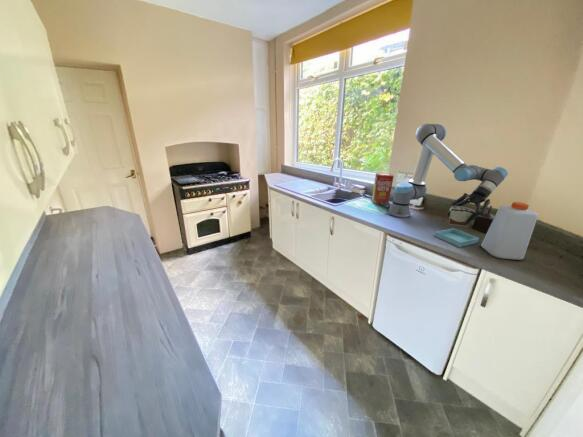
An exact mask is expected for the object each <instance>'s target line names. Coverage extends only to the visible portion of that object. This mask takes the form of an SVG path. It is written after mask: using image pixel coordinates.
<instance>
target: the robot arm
mask: <svg viewBox="0 0 583 437" xmlns="http://www.w3.org/2000/svg"><path fill="white" fill-rule="evenodd" d="M446 136H447V129H446V127H445V126H443V125H442V124H438V123H424V124H421V125H420V126H419V127H417V129H416V132H415V139H416V141H417V142H418V143H419V144H420V145H421V148H420V151H419V155H418V158H417V162H416V165H415V168H414V171H413V174H412V178H410V179H409V180H408V182H399V183H397V184H396V185H395V188H394V193H393V198H392V203H391V205H390V206H389V205H388V206H387V205H386V204H380V203H377V204H378V205H379V206H381V207H384V208H388V211H387V213H388V215H390V216H392V217H396V218H402V219H403V218H409V217H410V215H411V211H410V203H411V201H413V200H419V199H421V198H423V197H424V196H425V195H426V194H427V190H428V189H427V186H426V184H427V183H426V177H427V175H428V171H429V169H430V166H431V163H432V160H433V156H435V157H436V158H437V159H438V160H439V161H440V162H441V163H442V164H444V166H445V167H447V169H449V170H450V171H451V172H452V173H453V176H454V179H455V180H456V181H458V182H468V181H473V180H474V181H475V180H476V181H478V182H479V181H480V183H479V184H478V185H477V187H475V189H474V190H473V191H472V192H471V193H470V194H467V192H464V193H463V194H462V195H461V196H460V197H458V198H457V199H455V200H454V201H453V202H451V205H452V206H462V207H463V206H465V205H467V204H470V203H471V204H474V205H475V204H477V205H476V206H475V212H474V213H473V214H472V215H471V216H470V217H469V218H468V219H467V220H466V222H467V224H468V225H469V224H470V223H471V222H472V221H473V220H475V219H476V218H477V217H478V216H479V215H481V216H484V214H485V213H486V212H487V210H488V209H487V208H488V207H489V206H490V204H491V199H489V198H488V197H490V195H491V194H493V192H494V191H495V190H496V189H497V187H498V186H499V185H500V184H501V183H503V181H504V180H505V179H506V177H507V176H508V175H509V171H508V170H507V169H506V168H505V167H501V166H496V167H494V168H493V169H490V168H487V167H482V166H479V165H475V164H467V163H465V162H464V161H463V159H461V158H460V157H459V156H457V155H456V153H455V152H453V150H451V149H450V148H449V147H448V146H447V145H445V143H443V142H442V141H443V140H444V139H445V138H446ZM362 196H365V197H366V198H367V199H372V196H368V195H367V194H366V193H363V194H362ZM481 203H483V205H482V206H481ZM452 206H451V207H452ZM480 208H482V209H480ZM449 210H450V209H449ZM450 212H451V210H450V211H449V212H448V213H447V216H448V217H450Z"/></svg>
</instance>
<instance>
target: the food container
mask: <svg viewBox="0 0 583 437" xmlns="http://www.w3.org/2000/svg"><path fill="white" fill-rule="evenodd" d="M450 210H451V212H450ZM449 212H450V217H449V216H448V217H449V219H448V223H447V224H448V225H451V226H452V225H453V226H460V227H466V228H467V227H468V226H469V224H467V222H466V220H467V219H468V218H469V217H470V216H471V215H472V214H473V213H474V212H475V213H476V209H473V208H470V207H466V206H463V205H462V206H451V207H450V208H449Z"/></svg>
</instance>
